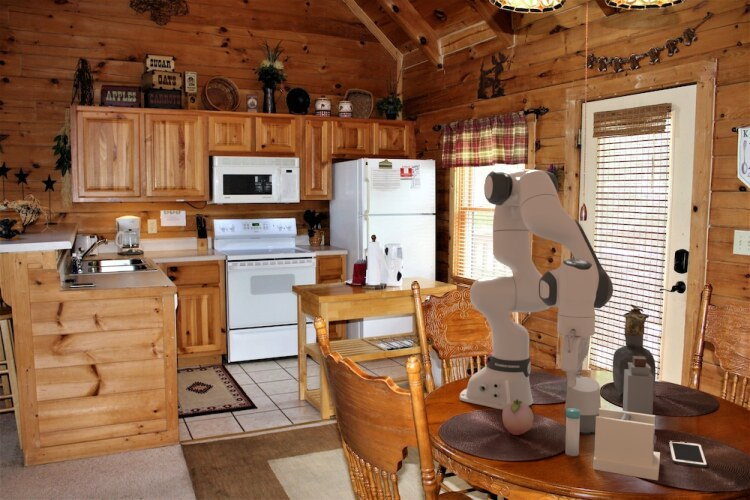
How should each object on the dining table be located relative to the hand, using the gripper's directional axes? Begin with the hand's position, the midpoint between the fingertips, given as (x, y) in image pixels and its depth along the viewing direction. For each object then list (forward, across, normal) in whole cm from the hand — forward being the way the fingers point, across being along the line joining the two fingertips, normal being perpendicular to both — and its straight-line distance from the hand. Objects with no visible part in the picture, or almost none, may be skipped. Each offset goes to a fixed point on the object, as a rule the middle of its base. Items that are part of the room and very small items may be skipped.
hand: (574, 381), depth 162 cm
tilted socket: (+18, -2, -13) cm, 23 cm away
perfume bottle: (+18, +34, -13) cm, 41 cm away
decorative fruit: (+18, +6, +15) cm, 25 cm away
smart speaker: (+18, +18, 0) cm, 26 cm away
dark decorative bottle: (+18, +54, -10) cm, 58 cm away
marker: (+18, 0, 0) cm, 18 cm away
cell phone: (+19, +12, -26) cm, 34 cm away
